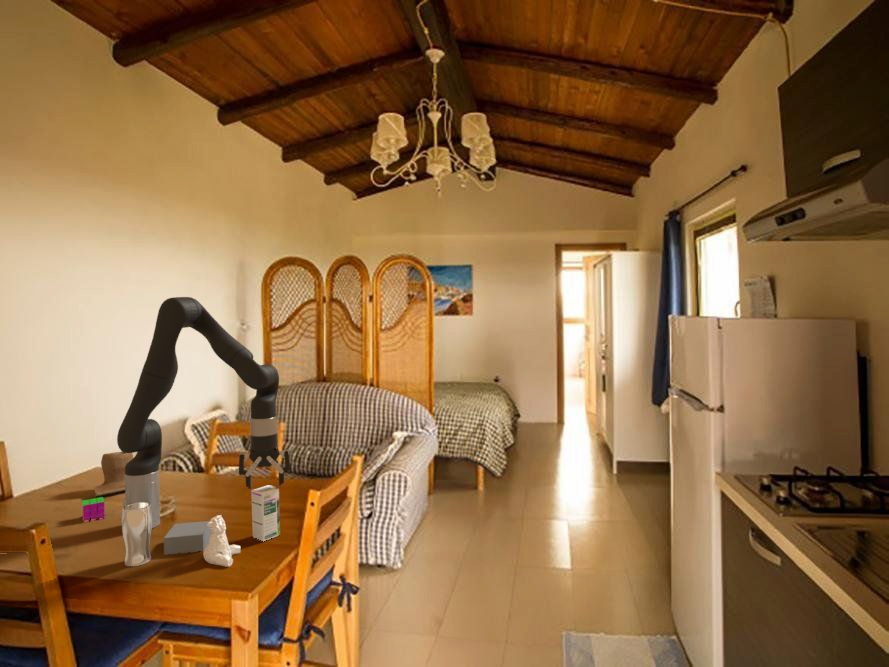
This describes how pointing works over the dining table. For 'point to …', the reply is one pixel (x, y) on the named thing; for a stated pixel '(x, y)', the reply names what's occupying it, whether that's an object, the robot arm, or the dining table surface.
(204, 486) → the dining table surface
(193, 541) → the grey block
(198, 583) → the dining table surface
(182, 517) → the dining table surface
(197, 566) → the dining table surface
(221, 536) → the white creature statuette
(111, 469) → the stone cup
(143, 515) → the beer glass
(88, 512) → the puzzle toy
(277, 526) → the syrup box
